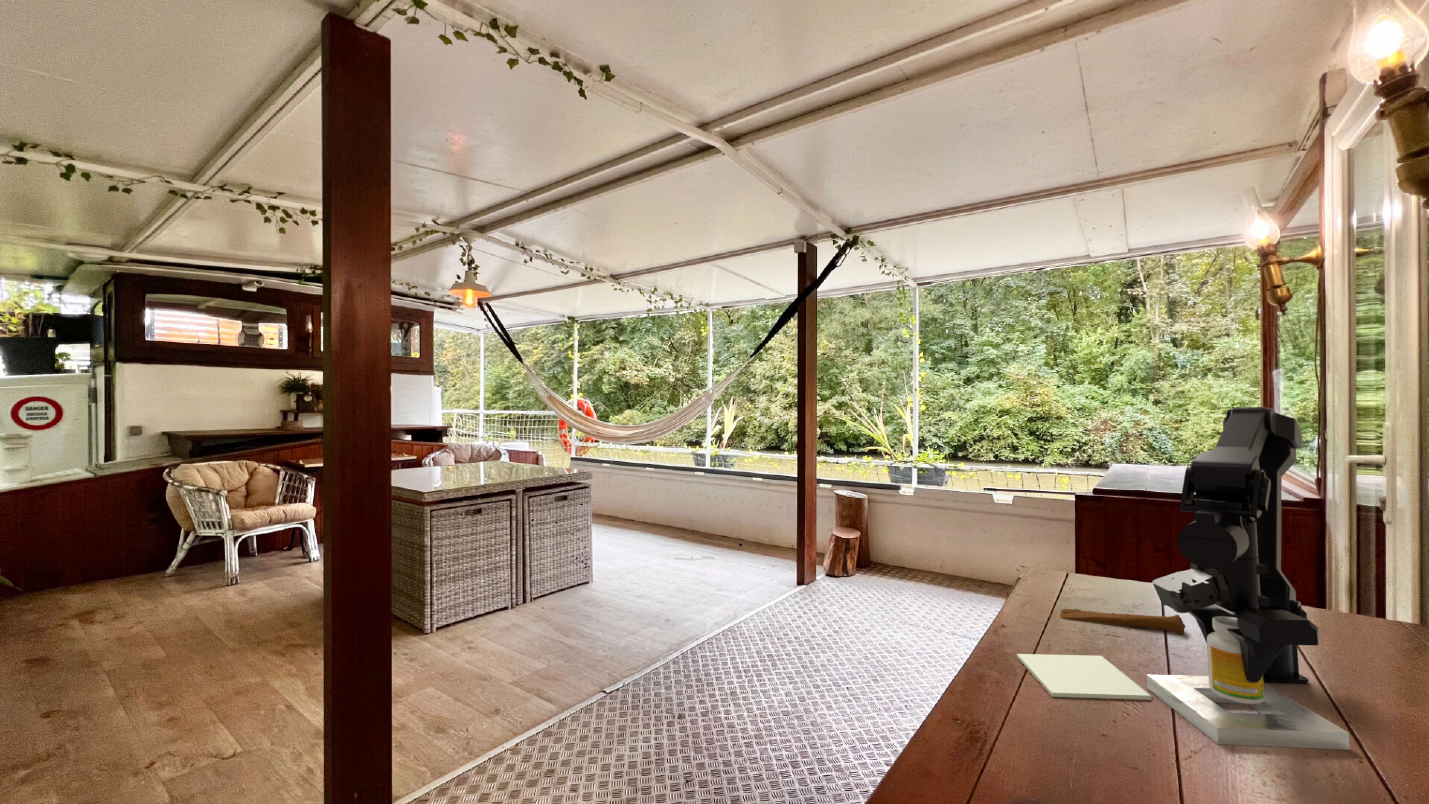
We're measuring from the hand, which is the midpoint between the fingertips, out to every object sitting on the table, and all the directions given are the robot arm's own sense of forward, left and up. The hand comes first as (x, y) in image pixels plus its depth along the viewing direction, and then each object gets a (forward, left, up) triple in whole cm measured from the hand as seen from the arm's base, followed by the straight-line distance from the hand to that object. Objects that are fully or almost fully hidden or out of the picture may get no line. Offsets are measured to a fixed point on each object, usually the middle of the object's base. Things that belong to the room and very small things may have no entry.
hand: (1235, 671), depth 75 cm
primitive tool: (-2, -33, -6) cm, 34 cm away
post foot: (0, 0, -6) cm, 6 cm away
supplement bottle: (0, 0, -3) cm, 3 cm away
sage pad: (+15, -10, -6) cm, 19 cm away
